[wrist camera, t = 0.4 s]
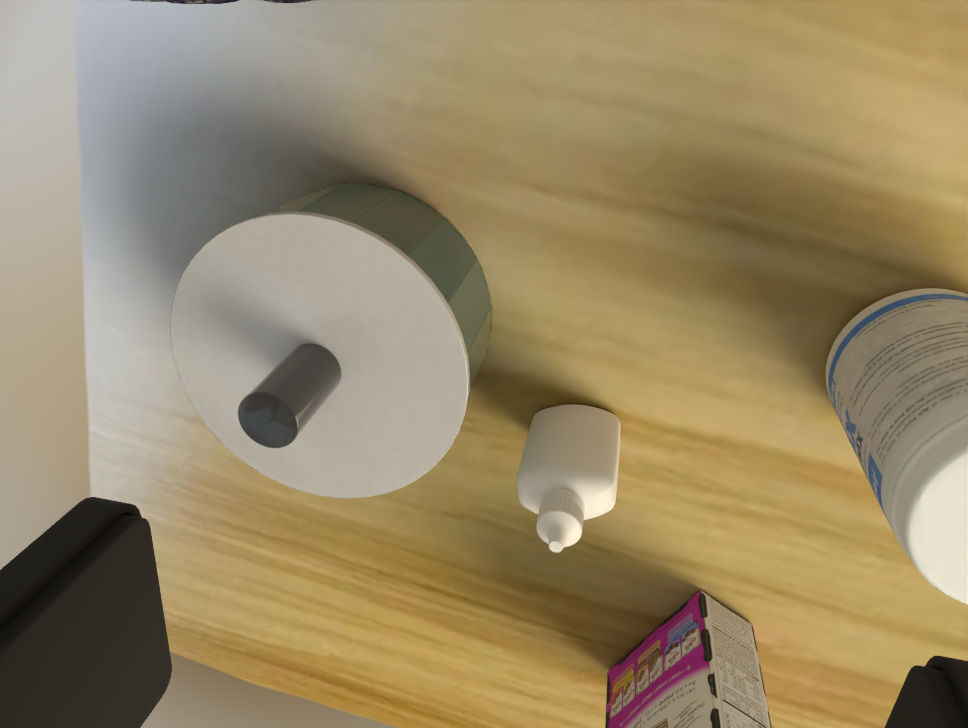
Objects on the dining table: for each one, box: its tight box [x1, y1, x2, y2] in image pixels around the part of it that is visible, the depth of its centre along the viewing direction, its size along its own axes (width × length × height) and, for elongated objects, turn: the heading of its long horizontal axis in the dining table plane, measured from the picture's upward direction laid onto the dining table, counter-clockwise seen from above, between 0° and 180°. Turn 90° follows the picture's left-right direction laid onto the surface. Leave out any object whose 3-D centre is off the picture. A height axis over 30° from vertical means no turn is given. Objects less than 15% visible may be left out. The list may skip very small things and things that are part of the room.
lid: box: [170, 211, 470, 498], centre depth 37 cm, size 17×17×7 cm
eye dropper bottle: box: [517, 404, 620, 552], centre depth 43 cm, size 4×6×12 cm
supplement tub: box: [826, 288, 968, 604], centre depth 35 cm, size 10×10×15 cm
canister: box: [269, 183, 492, 389], centre depth 43 cm, size 16×16×8 cm
